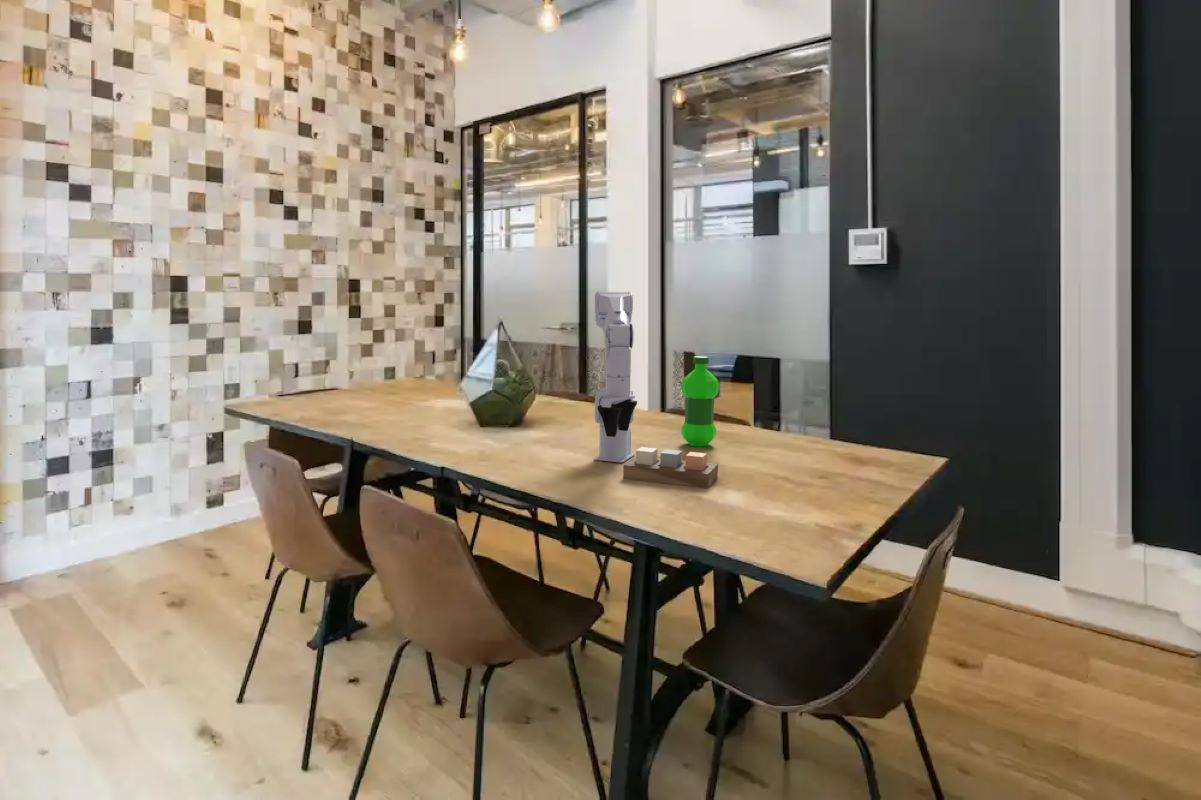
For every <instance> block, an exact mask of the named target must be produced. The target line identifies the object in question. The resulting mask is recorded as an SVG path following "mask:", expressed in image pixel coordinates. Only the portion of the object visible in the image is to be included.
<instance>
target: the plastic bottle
mask: <svg viewBox="0 0 1201 800" xmlns="http://www.w3.org/2000/svg"><path fill="white" fill-rule="evenodd" d="M709 361H710V357H709V356H706V355H705V356H704V355H703V356H702V355H701V356H699V355H698V356H697V355H696V356H693V360H692V363H693V364H694V369H693V370H692V371H690V372H689V373H688V374H687V375H686V376H685V377H684V378H683V380H682V381H681V393H682V394H683V395H684V397H685V406H684V408H685V409H684V423H683V425H682V426H681V428H680V429H681V432H680V433H681V436H682V438H683V439H684V440H685V441H686V442H687V443H688V445H690V446H692V447H707V446H708V445H709V444H710V443H711V442H712V441H713V440H714V439H715V437H716V436H717V428H716V425H715V423H714V413H715V411H714V409H715V397H716V396H717V395H718V394H719V390H720V382H719V380H718V379H717V377H716V376H715V375H714V374H713V373H711V372H710V370H708V369H707V368H708V365H709V363H710V362H709Z"/></svg>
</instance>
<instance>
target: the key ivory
mask: <svg viewBox="0 0 1201 800" xmlns="http://www.w3.org/2000/svg"><path fill="white" fill-rule="evenodd" d="M635 457H636V464H645V465H655V464H656V463H657V458H658V448H655V447H654V448H653V447H646V446H641V447H639V448H638V449H636V450H635Z"/></svg>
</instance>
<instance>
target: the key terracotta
mask: <svg viewBox="0 0 1201 800" xmlns="http://www.w3.org/2000/svg"><path fill="white" fill-rule="evenodd" d="M685 461H686V464H685V469H692V470H702V471H704V470H705V469H707V463H708V453H707V452H696V451H689V452H688V453H687V454H686V455H685Z"/></svg>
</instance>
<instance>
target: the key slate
mask: <svg viewBox="0 0 1201 800" xmlns="http://www.w3.org/2000/svg"><path fill="white" fill-rule="evenodd" d="M659 458H660V466H664V467H673V468H679V467H680V466H681V465H682V460H683V451H682V450H675V449H674V450H673V449H664V450H663V451H661V452H660V457H659Z"/></svg>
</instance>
